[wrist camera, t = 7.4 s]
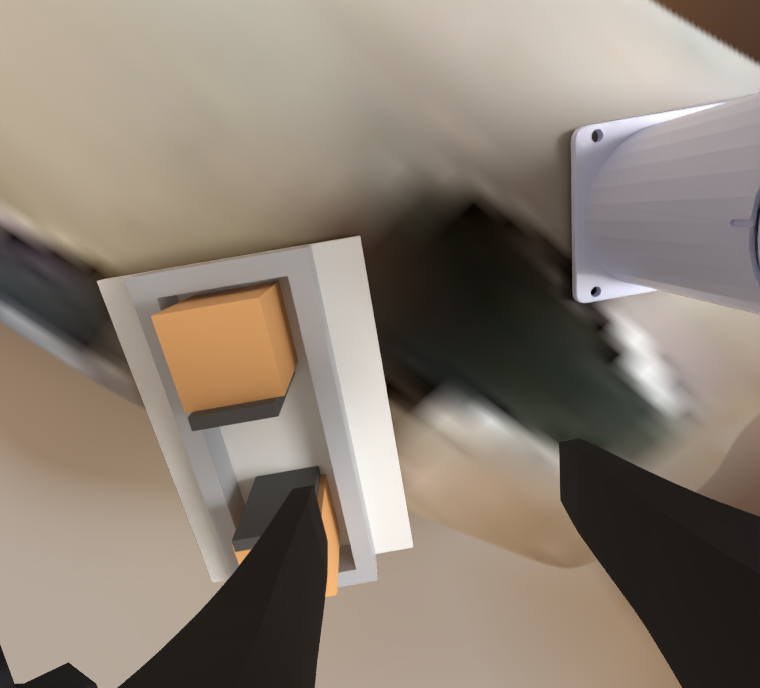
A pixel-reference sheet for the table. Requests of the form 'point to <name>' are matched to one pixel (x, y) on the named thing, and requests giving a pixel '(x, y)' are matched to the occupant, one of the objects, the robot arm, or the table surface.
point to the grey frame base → (296, 419)
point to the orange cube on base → (229, 354)
